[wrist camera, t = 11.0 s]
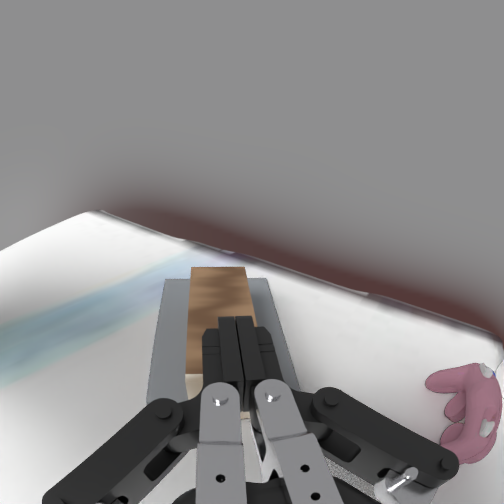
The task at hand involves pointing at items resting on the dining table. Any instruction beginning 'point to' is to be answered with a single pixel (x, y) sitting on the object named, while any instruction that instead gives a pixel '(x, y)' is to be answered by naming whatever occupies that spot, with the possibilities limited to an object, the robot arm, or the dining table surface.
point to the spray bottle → (501, 377)
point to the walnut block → (212, 314)
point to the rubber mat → (175, 338)
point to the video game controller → (469, 409)
